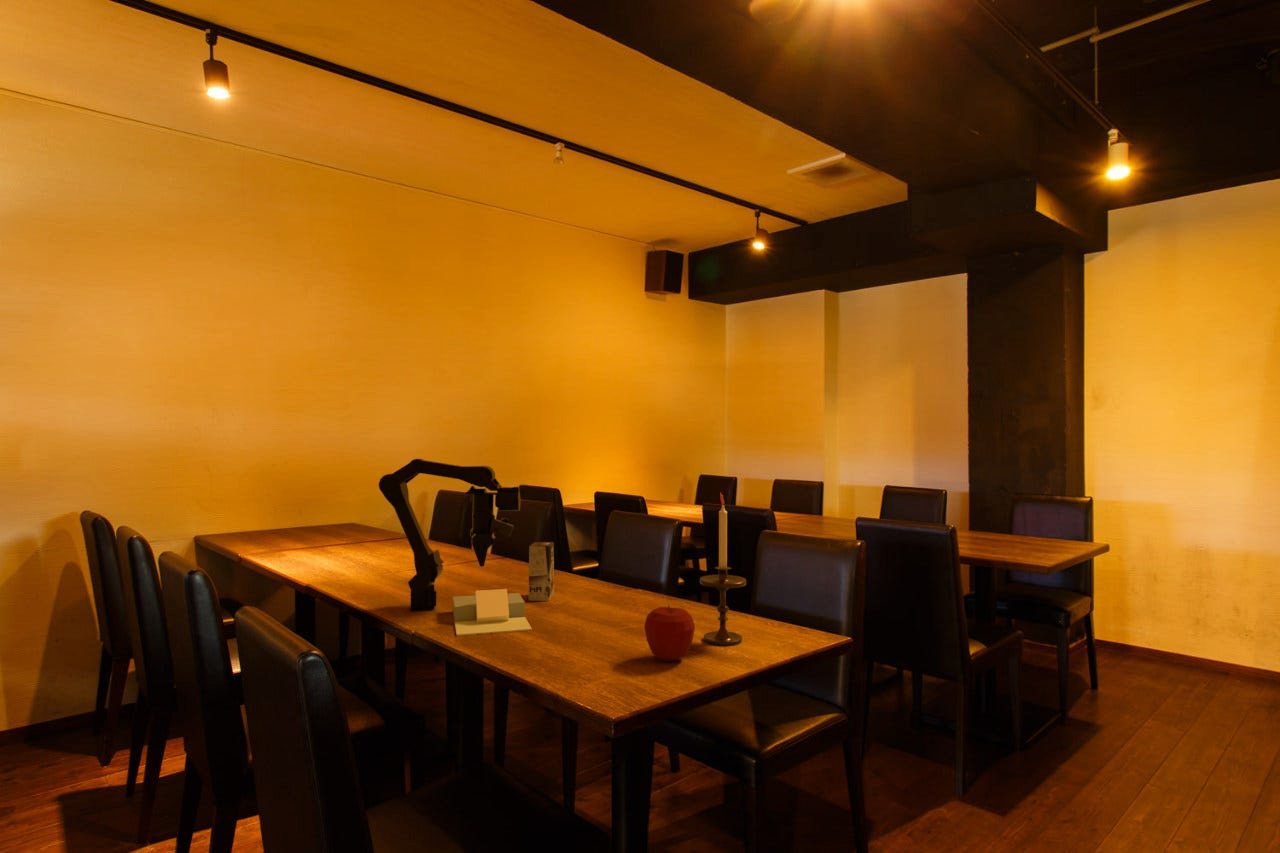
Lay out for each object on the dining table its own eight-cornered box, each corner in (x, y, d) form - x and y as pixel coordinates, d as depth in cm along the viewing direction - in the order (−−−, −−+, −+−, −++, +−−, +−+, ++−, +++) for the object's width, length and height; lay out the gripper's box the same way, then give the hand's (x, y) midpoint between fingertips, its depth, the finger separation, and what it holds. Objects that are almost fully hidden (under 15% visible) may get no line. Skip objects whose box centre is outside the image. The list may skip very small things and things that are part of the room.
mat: (456, 636, 166) (456, 634, 166) (454, 623, 177) (454, 621, 177) (531, 630, 171) (531, 628, 171) (525, 618, 183) (525, 616, 183)
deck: (454, 622, 178) (454, 606, 178) (452, 611, 190) (452, 596, 190) (524, 617, 183) (524, 602, 184) (518, 607, 195) (518, 592, 195)
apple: (656, 670, 142) (656, 613, 142) (636, 655, 152) (636, 601, 152) (703, 663, 146) (703, 608, 146) (680, 649, 156) (681, 597, 156)
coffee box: (549, 601, 202) (550, 546, 203) (527, 601, 202) (528, 545, 203) (554, 594, 211) (554, 541, 212) (533, 594, 211) (533, 541, 212)
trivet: (476, 623, 176) (477, 617, 175) (475, 596, 182) (475, 590, 180) (508, 620, 179) (509, 615, 177) (506, 594, 184) (506, 588, 183)
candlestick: (709, 648, 157) (710, 494, 158) (693, 635, 167) (693, 490, 168) (753, 645, 160) (753, 493, 160) (734, 632, 170) (735, 490, 171)
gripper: (514, 513, 188) (513, 571, 187) (509, 507, 206) (508, 559, 205) (472, 514, 185) (471, 572, 184) (470, 507, 203) (469, 561, 202)
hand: (481, 566), depth 194 cm, fingers closed
